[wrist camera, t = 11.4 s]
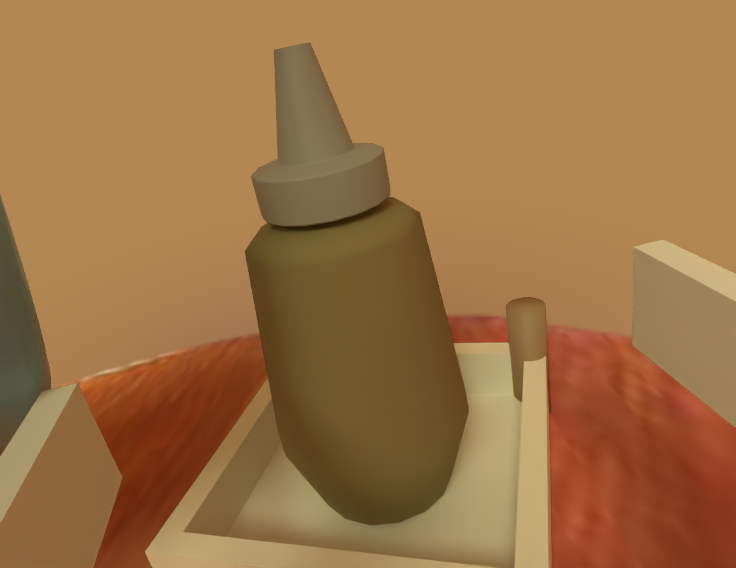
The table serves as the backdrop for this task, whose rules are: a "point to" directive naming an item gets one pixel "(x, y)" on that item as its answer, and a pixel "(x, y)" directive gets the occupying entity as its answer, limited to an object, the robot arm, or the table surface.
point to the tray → (396, 540)
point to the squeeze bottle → (350, 314)
